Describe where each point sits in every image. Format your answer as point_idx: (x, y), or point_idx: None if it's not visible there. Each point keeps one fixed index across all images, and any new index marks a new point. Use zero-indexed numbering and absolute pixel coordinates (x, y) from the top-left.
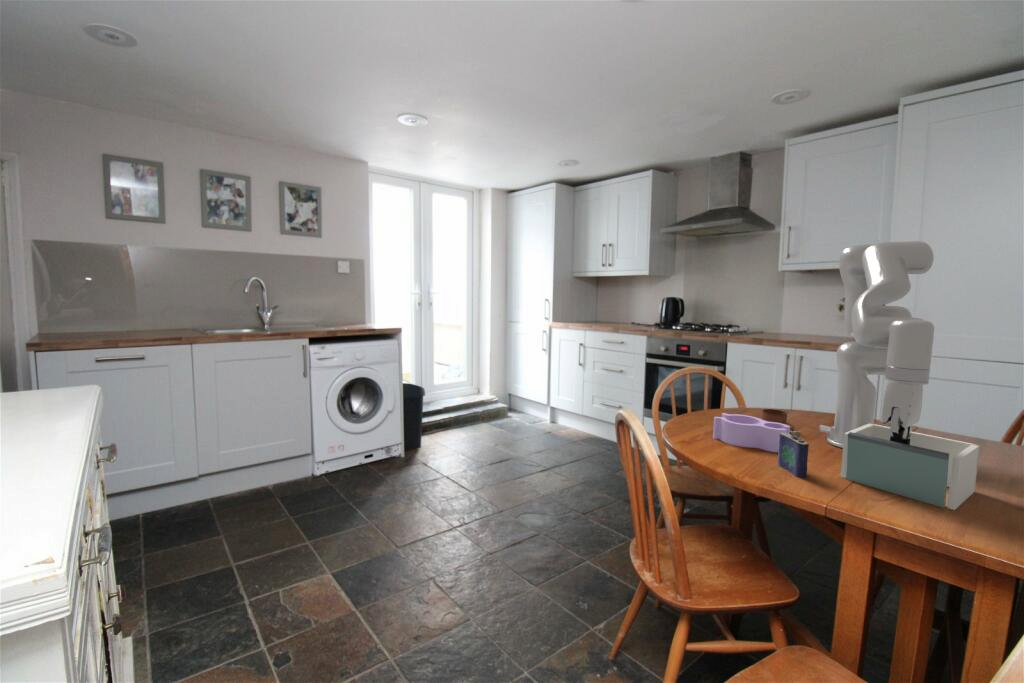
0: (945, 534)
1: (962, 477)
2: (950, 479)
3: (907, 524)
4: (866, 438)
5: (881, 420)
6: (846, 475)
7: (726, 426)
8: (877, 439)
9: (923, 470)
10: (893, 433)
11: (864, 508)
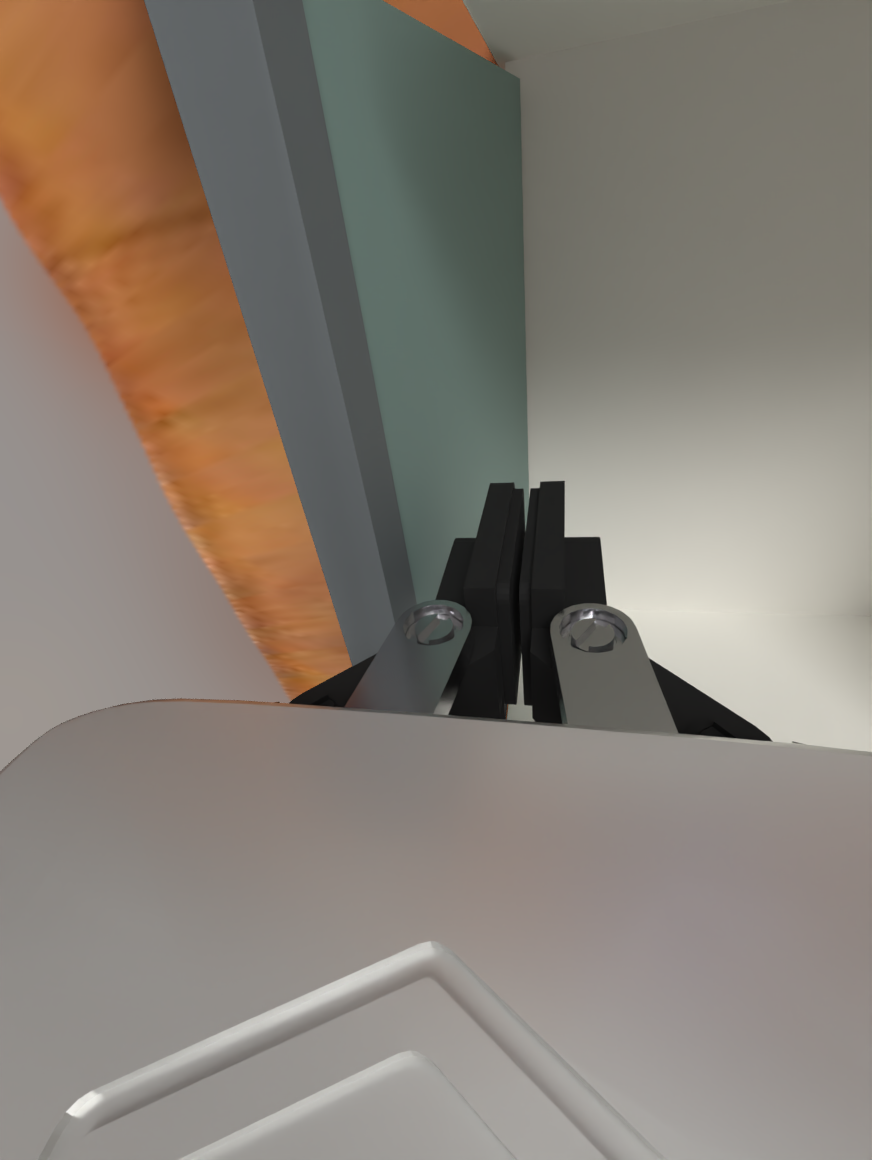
0: (303, 624)
1: None
2: (508, 711)
3: (252, 544)
4: (261, 346)
5: (17, 762)
6: (501, 55)
7: None
8: (316, 476)
9: None
10: (340, 683)
11: (214, 394)
